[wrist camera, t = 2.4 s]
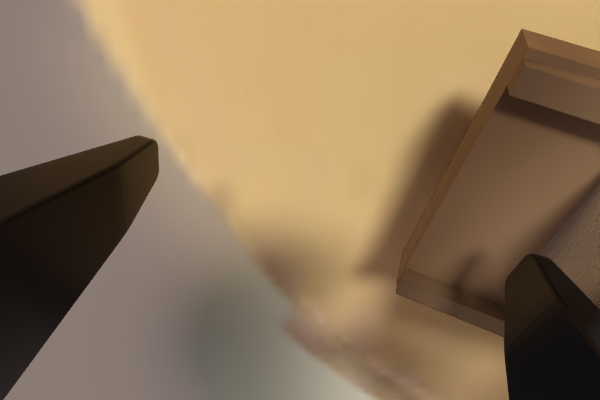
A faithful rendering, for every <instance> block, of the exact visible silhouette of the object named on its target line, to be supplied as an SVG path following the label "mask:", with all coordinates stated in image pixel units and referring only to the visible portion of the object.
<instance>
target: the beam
mask: <svg viewBox="0 0 600 400" xmlns="http://www.w3.org/2000/svg"><path fill="white" fill-rule="evenodd" d="M599 181H600V52H599V51H596V50H592V49H589V48H585V47H582V46H579V45H575V44H572V43H568V42H565V41H562V40H558V39H555V38H552V37H548V36H545V35H541V34H538V33H535V32H531V31H528V30H524V29H521V31H520V33H519V35H518V37H517V39H516V41H515V42H514V44H513V46H512V48H511V50H510V52H509V54H508V56H507V57H506V59H505V61H504V63H503V65H502V67H501V69H500V71H499V72H498V74H497V76H496V78H495V80H494V82H493V84H492V86H491V87H490V89H489V91H488V93H487V95H486V97H485V99H484V101H483V102H482V104H481V106H480V108H479V110H478V112H477V114H476V116H475V117H474V119H473V121H472V123H471V125H470V127H469V129H468V131H467V132H466V134H465V136H464V138H463V140H462V142H461V144H460V146H459V147H458V149H457V151H456V153H455V155H454V157H453V159H452V161H451V162H450V164H449V166H448V168H447V170H446V172H445V174H444V176H443V177H442V179H441V181H440V183H439V185H438V187H437V189H436V191H435V192H434V194H433V196H432V198H431V200H430V202H429V204H428V206H427V207H426V209H425V211H424V213H423V215H422V217H421V219H420V221H419V222H418V224H417V226H416V228H415V230H414V232H413V234H412V236H411V238H410V239H409V241H408V243H407V245H406V247H405V249H404V251H403V253H402V258H401V263H400V268H399V273H398V278H397V284H398V285H397V290H396V294H398V295H401V296H403V297H406V298H408V299H411V300H413V301H416V302H418V303H421V304H423V305H426V306H428V307H431V308H433V309H436V310H438V311H441V312H443V313H446V314H448V315H451V316H453V317H456V318H458V319H461V320H463V321H466V322H468V323H471V324H473V325H476V326H478V327H481V328H483V329H485V330H488V331H490V332H493V333H495V334H498V335H500V336H503V337H504V295H503V292H504V291H505V282H506V279H507V277H508V276H509V274H510V273H511V272H512V271H513V270H514V268H515V267H516V266H517V265H518V264H519V262H520V261H521V260H522V259H523V258H524V257H525V256H526V255H527V254H530V253H534V254H537V253H538V252H539V250H540V249H541V248H542V247H543V246H544V245H545V244H546V242H547V241H548V240H549V239H550V238H551V237H552V235H553V234H554V233H555V232H556V231H557V230H558V228H559V227H560V226H561V225H562V224H563V223H564V221H565V220H566V219H567V218H568V217H569V216H570V214H571V213H572V212H573V211H574V210H575V209H576V207H577V206H578V205H579V204H580V203H581V202H582V200H583V199H584V198H585V197H586V196H587V195H588V193H589V192H590V191H591V190H592V189H593V188H594V187H595V185H596V184H597V183H598V182H599Z"/></svg>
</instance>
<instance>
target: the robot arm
mask: <svg viewBox="0 0 600 400" xmlns="http://www.w3.org/2000/svg"><path fill="white" fill-rule="evenodd" d="M158 173H159V157H158V144H157V142H156V141H155V140H154V139H150V138H147V137H144V136H134V137H130V138H127V139H124V140H120V141H117V142H113V143H110V144H107V145H104V146H100V147H97V148H93V149H90V150H86V151H83V152H80V153H76V154H73V155H69V156H66V157H62V158H59V159H56V160H52V161H49V162H46V163H42V164H39V165H35V166H32V167H29V168H25V169H22V170H18V171H15V172H12V173H8V174H5V175H1V176H0V400H3V399H4V398H5V396H6V395H7V394H8V393H9V391H10V390H11V389H12V387H13V386H14V385H15V383H16V382H17V380H18V379H19V378H20V376H21V375H22V374H23V372H24V371H25V370H26V368H27V367H28V366H29V364H30V363H31V361H32V360H33V359H34V357H35V356H36V355H37V353H38V352H39V351H40V349H41V348H42V347H43V345H44V344H45V342H46V341H47V340H48V338H49V337H50V336H51V334H52V333H53V332H54V330H55V329H56V328H57V326H58V325H59V323H60V322H61V321H62V319H63V318H64V317H65V315H66V314H67V312H68V311H69V310H70V308H71V307H72V306H73V304H74V303H75V302H76V300H77V299H78V298H79V296H80V295H81V294H82V292H83V291H84V289H85V288H86V287H87V285H88V284H89V283H90V281H91V280H92V279H93V277H94V276H95V275H96V273H97V272H98V271H99V269H100V268H101V266H102V265H103V263H104V262H105V261H106V260H107V258H108V257H109V256H110V254H111V253H112V252H113V250H114V249H115V247H116V246H117V245H118V243H119V242H120V241H121V239H122V238H123V236H124V235H125V233H126V232H127V230H128V229H129V227H130V225H131V224H132V222H133V220H134V218H135V217H136V215H137V213H138V212H139V210H140V208H141V206H142V204H143V203H144V201H145V199H146V197H147V196H148V193H149V192H150V190H151V188H152V186H153V185H154V183H155V181H156V179H157V177H158ZM504 353H505V364H506V374H507V383H508V393H509V400H600V309H599V308H598V307H597V306H596V305H595V304H594V303H593V302H592V301H591V300H590V299H589V298H588V297H587V296H586V295H585V294H584V293H583V292H582V291H581V290H580V289H579V288H578V286H577V285H576V284H575V283H574V282H573V281H572V280H571V279H570V278H569V277H568V276H567V275H566V274H565V273H564V272H563V271H562V270H561V269H560V268H559V267H558V266H557V265H556V264H555V263H554V262H553V261H552V260H551V259H550V258H547V257H544V256H541V255H537V254H534V253H530V254H527V255H526V256H525V257H524V258H523V259H522V260H521V261H520V262H519V264H518V265H517V266H516V267H515V268H514V270H513V271H512V272H511V273H510V274H509V276H508V277H507V279H506V282H505V302H504Z"/></svg>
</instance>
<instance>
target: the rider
mask: <svg viewBox="0 0 600 400" xmlns="http://www.w3.org/2000/svg"><path fill="white" fill-rule="evenodd" d="M537 255H541V256H544V257H547V258H550V259H551V260H552V261H553V262H554V263H555V264H556V265H557V266H558V267H559V268H560V269H561V270H562V271H563V272H564V273H565V274H566V275H567V276H568V277H569V278H570V279H571V280H572V281H573V282H574V283H575V284H576V285H577V286H578V288H579V289H580V290H581V291H582V292H583V293H584V294H585V295H586V296H587V297H588V298H589V299H590V300H591V301H592V302H593V303H594V304H595V305H596V306H597V307H598V308H599V309H600V181H599V182H598V183H597V184H596V185H595V187H594V188H593V189H592V190H591V191H590V192H589V193H588V195H587V196H586V197H585V198H584V199H583V200H582V202H581V203H580V204H579V205H578V206H577V207H576V209H575V210H574V211H573V212H572V213H571V214H570V216H569V217H568V218H567V219H566V220H565V221H564V223H563V224H562V225H561V226H560V227H559V228H558V230H557V231H556V232H555V233H554V234H553V235H552V237H551V238H550V239H549V240H548V241H547V242H546V244H545V245H544V246H543V247H542V248H541V249H540V250H539V252H538V253H537ZM503 295H504V302H505V291H504V292H503Z"/></svg>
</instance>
